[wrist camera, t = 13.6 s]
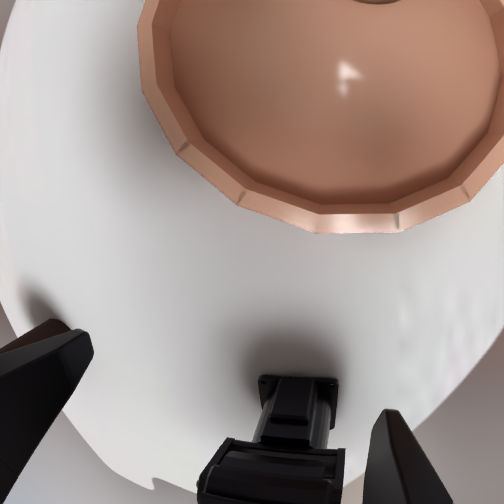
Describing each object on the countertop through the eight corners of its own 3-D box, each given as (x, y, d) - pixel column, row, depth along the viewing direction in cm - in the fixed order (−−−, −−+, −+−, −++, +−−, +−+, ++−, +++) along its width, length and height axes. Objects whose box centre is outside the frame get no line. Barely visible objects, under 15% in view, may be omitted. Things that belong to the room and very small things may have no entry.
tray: (510, 218, 15) (532, 232, 13) (186, 223, 21) (164, 237, 19) (458, -77, 8) (469, -96, 5) (157, -55, 14) (136, -70, 11)
